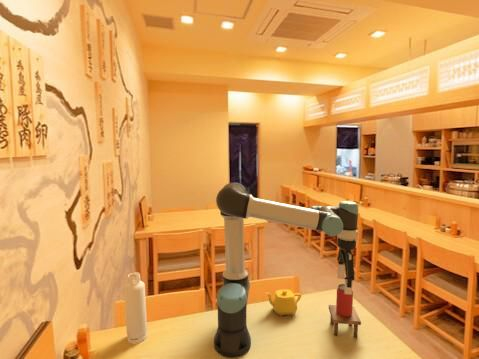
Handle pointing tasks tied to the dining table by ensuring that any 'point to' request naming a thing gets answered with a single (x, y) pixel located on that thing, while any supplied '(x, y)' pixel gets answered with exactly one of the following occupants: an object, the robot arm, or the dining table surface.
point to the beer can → (344, 302)
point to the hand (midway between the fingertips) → (344, 285)
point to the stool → (344, 320)
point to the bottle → (135, 309)
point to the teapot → (284, 302)
